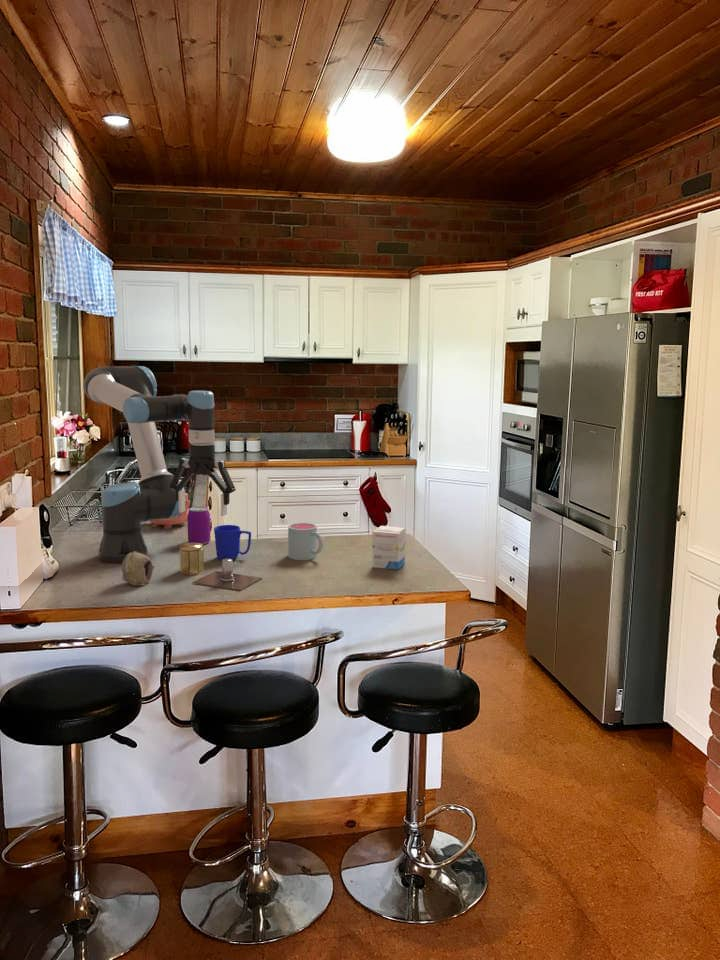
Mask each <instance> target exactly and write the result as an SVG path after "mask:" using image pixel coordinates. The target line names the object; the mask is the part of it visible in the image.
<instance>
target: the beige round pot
mask: <svg viewBox="0 0 720 960" xmlns="http://www.w3.org/2000/svg"><path fill="white" fill-rule="evenodd" d="M154 569H155V565H154V564H153V562H152V560H151V558H150V557H149V556H148V555H147V556H146V555H144V554H141V553H138V552H135V551H134V552H133V553H129V554H128V555H127V556H126V557H125V558H124V560H123V563H121V572H122V576H121V580H122V581H123V582H126V583H128V584H130V585H131V586H146V585H147V584H148V583H149V582H150V580H151V579H152V576H153V571H154Z"/></svg>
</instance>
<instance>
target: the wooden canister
mask: <svg viewBox="0 0 720 960" xmlns="http://www.w3.org/2000/svg"><path fill="white" fill-rule="evenodd" d="M178 549H179V571H181V572H180V573H181V574H182V573H184V574H183V575H188V574H189V575H190V574H192V575H199V573H200V572H202V573H204V572H205V559H204V558H205V557H204V555H205V554H204V553H205V552H204V550H205V549H204V544H201V543H190V542H185V543H182V544H180V545H179V548H178ZM203 571H204V572H203ZM200 574H201V573H200Z"/></svg>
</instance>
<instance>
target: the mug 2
mask: <svg viewBox="0 0 720 960" xmlns="http://www.w3.org/2000/svg"><path fill="white" fill-rule="evenodd" d="M287 527H288V529H287V534H288V535H287V536H288V537H287V539H288V541H287V545H288V547H287V553H288V554H287V557H288V558H289V559H291V560H294V561H295V560H296V561H310V560H313V559H315V558H317V557H318V556H317V555H319V554H320V553H321V552H322V551H323V547H324V541H323V538H322V537H321V535H320V534H319V533H318V529H317V527H318V526H317V525H316V523H315V524H314V523H310V522H297V523H291V524H289V525H288V526H287ZM317 540H318V541H317ZM318 542H319V545H318V544H317V543H318ZM317 546H318V548H317Z"/></svg>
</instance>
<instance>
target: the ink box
mask: <svg viewBox="0 0 720 960" xmlns="http://www.w3.org/2000/svg"><path fill="white" fill-rule="evenodd" d="M371 534H372V539H371V540H372V548H371V549H372V561H371V562H372V563H371V564H372V565H371V566H372V568H373V569H374V568H376V569H377V568H378V569H388V570H395V571H396V570H399V569H401V567H403V566H404V565H405V563H406V562H405V561H406V528H405V527H397V526H388V525H380V526H379V527H377V528H376V529H374V530H373V531H372V533H371Z"/></svg>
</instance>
